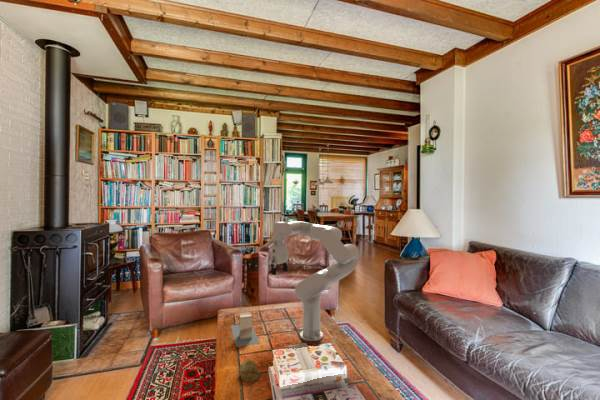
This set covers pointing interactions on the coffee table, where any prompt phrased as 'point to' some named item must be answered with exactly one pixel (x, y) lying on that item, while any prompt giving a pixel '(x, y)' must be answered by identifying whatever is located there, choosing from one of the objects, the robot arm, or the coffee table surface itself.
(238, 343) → the rubber mat
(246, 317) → the maple block
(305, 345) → the fossil replica
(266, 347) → the coffee table surface
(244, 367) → the dark olive rounded lump
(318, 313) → the robot arm
